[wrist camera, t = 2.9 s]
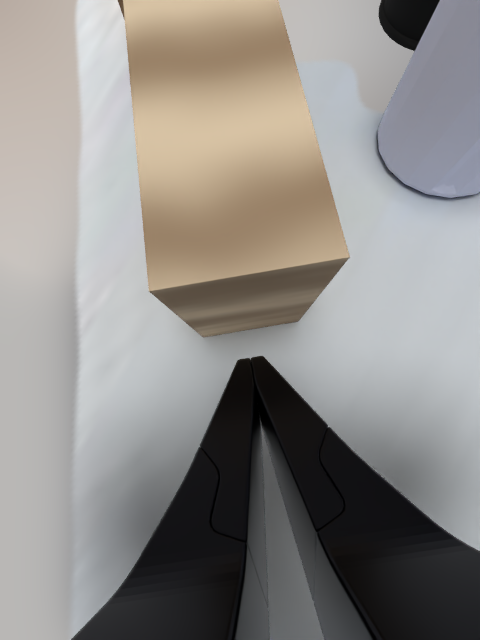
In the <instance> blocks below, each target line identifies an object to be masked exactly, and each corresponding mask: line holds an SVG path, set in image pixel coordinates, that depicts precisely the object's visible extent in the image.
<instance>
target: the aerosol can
mask: <svg viewBox="0 0 480 640" xmlns="http://www.w3.org/2000/svg"><path fill="white" fill-rule="evenodd" d="M439 1H440V0H381V3H380V7H379V19H380V23H381V25H382V27H383V29H384V31H385V32H386V34H387V35H388V36H389V37H390V38H391V39H392V40H394V41H395V42H396V43H398V44H400V45H401V46H403V47H405V48H408V49H411V50H413V51H415V50H416V48H417V46H418V44H419V42H420V40H421V37H422V35H423V33H424V31H425V29H426V27H427V25H428V23H429V21H430V19H431V17H432V15H433V13H434V11H435V9H436V7H437V5H438V3H439Z"/></svg>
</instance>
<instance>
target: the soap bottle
mask: <svg viewBox="0 0 480 640" xmlns="http://www.w3.org/2000/svg"><path fill="white" fill-rule="evenodd" d="M378 144H379V152H380V154H381V156H382V158H383V160H384V162H385V164H386V166H387V168H388V169H389V170H390V171H391V172H392V173H393V174H394V175H395V176H396V177H398V178H399V179H400V180H401V181H402V182H403V183H404V184H406V185H408V186H410V187H412V188H414V189H416V190H419V191H421V192H423V193H425V194H429V195H435V196H442V197H448V198H453V197H460V196H467V195H474V194H477V193H479V192H480V0H440V1H439V3H438V5H437V7H436V9H435V11H434V13H433V15H432V17H431V19H430V21H429V23H428V25H427V27H426V29H425V31H424V33H423V35H422V37H421V40H420V42H419V44H418V46H417V48H416V50H415V52H414V54H413V56H412V58H411V60H410V62H409V64H408V66H407V68H406V70H405V72H404V74H403V76H402V78H401V80H400V82H399V84H398V86H397V88H396V90H395V92H394V94H393V96H392V98H391V100H390V102H389V104H388V106H387V108H386V110H385V112H384V115H383V117H382V120H381V123H380V125H379V128H378Z"/></svg>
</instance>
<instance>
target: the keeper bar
mask: <svg viewBox="0 0 480 640" xmlns="http://www.w3.org/2000/svg"><path fill="white" fill-rule="evenodd" d="M123 5H124V16H125V27H126V39H127V50H128V61H129V72H130V84H131V95H132V106H133V117H134V128H135V140H136V151H137V162H138V173H139V185H140V196H141V207H142V218H143V229H144V241H145V252H146V263H147V274H148V286H149V292H150V293H152V294H153V295H154V296H155V297H156V298H158V299H159V300H160V301H161V302H162V303H163V304H165V305H166V306H167V307H168V308H169V309H170V310H172V311H173V312H174V313H175V314H176V315H178V316H179V317H180V318H181V319H182V320H183V321H185V322H186V323H187V324H188V325H189V326H190V327H192V328H193V329H194V330H195V331H196V332H197V333H199V334H200V335H201V336H202V337H209V336H215V335H221V334H226V333H232V332H238V331H244V330H250V329H256V328H262V327H268V326H274V325H280V324H286V323H292V322H298V321H299V320H300V319H301V317H302V316H303V315H304V314H305V312H306V311H307V310H308V309H309V307H310V306H311V305H312V304H313V302H314V301H315V300H316V299H317V297H318V296H319V295H320V294H321V292H322V291H323V290H324V289H325V287H326V286H327V285H328V284H329V282H330V281H331V280H332V279H333V277H334V276H335V275H336V274H337V272H338V271H339V270H340V269H341V267H342V266H343V265H344V264H345V262H346V261H347V260H348V259H349V257H350V256H349V253H348V249H347V245H346V242H345V238H344V235H343V231H342V227H341V224H340V220H339V217H338V213H337V209H336V206H335V202H334V199H333V195H332V192H331V188H330V184H329V181H328V177H327V174H326V170H325V166H324V163H323V159H322V156H321V152H320V149H319V145H318V141H317V138H316V134H315V131H314V127H313V123H312V120H311V116H310V113H309V109H308V106H307V102H306V98H305V95H304V91H303V88H302V84H301V80H300V77H299V73H298V70H297V66H296V63H295V59H294V55H293V52H292V49H291V45H290V41H289V37H288V34H287V30H286V27H285V23H284V20H283V16H282V12H281V9H280V5H279V2H278V0H123Z"/></svg>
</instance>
